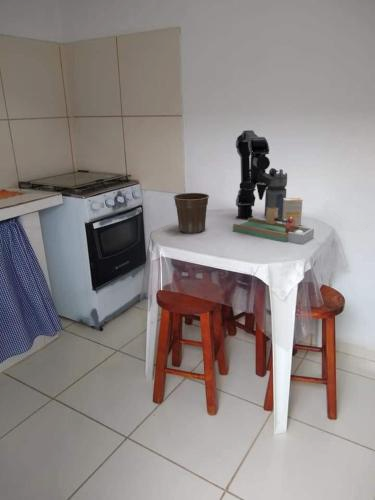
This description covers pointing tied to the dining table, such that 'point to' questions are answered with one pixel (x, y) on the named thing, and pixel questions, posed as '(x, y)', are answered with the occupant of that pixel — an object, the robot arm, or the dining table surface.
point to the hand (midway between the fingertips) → (255, 201)
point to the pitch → (273, 231)
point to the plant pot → (191, 211)
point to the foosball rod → (279, 219)
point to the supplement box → (292, 209)
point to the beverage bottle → (276, 192)
